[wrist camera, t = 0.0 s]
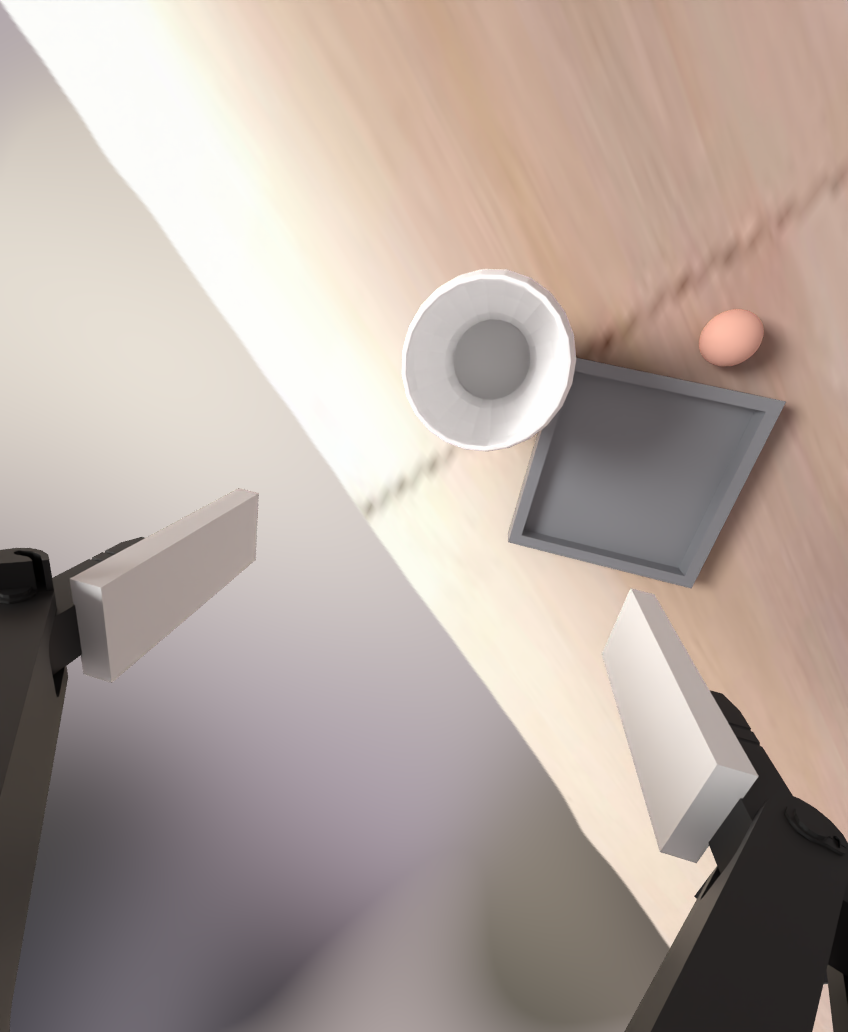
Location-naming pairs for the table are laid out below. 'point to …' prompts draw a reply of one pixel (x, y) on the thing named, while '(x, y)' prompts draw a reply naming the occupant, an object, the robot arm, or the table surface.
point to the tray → (640, 471)
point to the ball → (731, 337)
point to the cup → (488, 360)
